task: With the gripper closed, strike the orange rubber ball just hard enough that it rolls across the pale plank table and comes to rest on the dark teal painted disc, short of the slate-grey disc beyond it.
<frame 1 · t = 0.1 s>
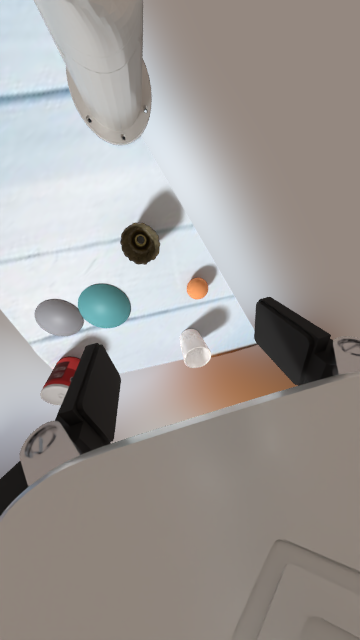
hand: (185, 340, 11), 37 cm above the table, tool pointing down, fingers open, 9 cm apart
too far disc: (60, 318, 46), on the table
canned food: (72, 364, 54), on the table
white cup: (189, 336, 58), on the table
cup: (140, 239, 40), on the table
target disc: (105, 307, 47), on the table
ball: (197, 288, 46), on the table
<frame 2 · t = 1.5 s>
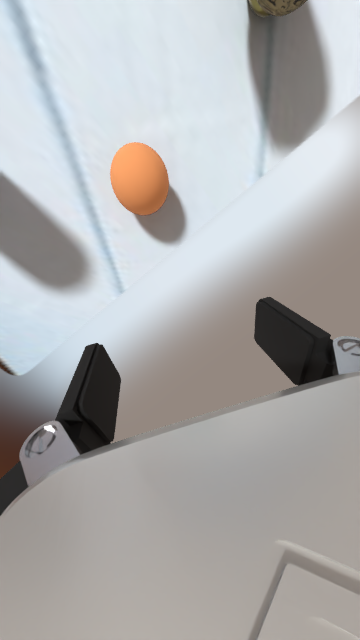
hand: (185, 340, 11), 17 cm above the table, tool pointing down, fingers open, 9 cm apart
ball: (140, 182, 17), on the table
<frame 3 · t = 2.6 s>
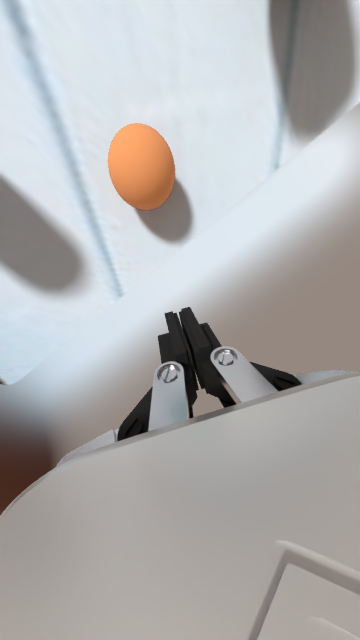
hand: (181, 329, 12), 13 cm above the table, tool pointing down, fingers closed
ball: (142, 171, 15), on the table
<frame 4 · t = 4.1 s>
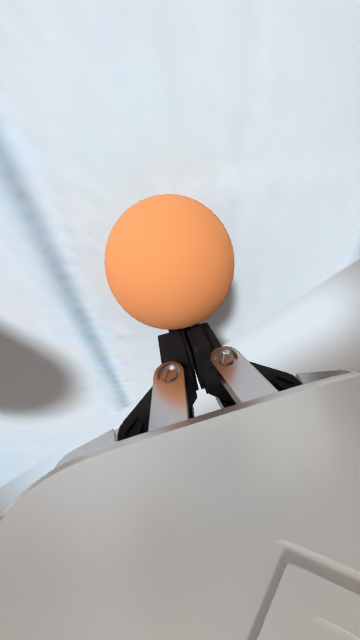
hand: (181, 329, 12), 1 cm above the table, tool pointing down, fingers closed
ball: (170, 268, 8), on the table
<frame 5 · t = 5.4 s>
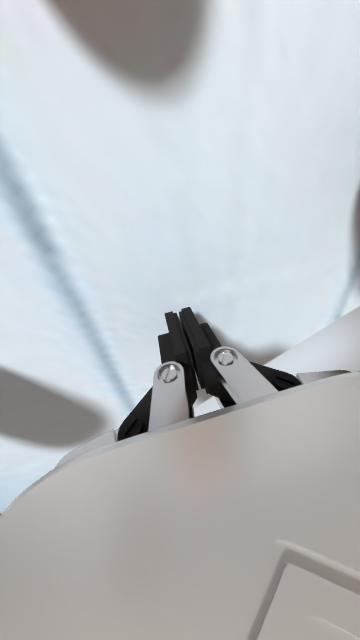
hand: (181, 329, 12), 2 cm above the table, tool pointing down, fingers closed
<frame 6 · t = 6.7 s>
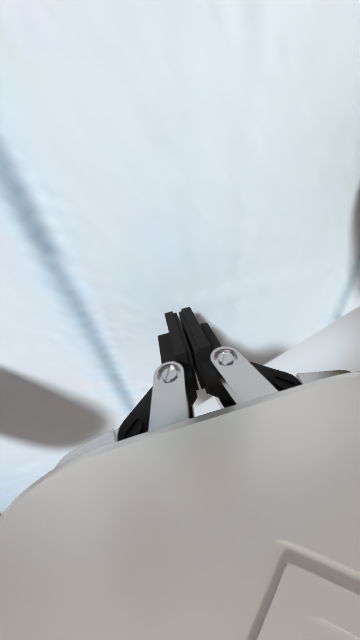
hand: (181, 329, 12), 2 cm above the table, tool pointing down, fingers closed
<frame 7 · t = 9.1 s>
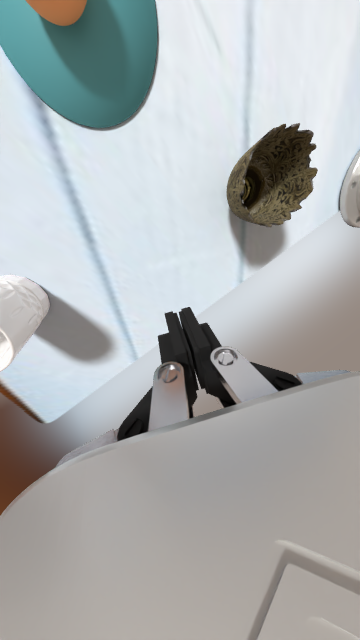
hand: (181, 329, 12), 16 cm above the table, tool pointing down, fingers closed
white cup: (21, 298, 24), on the table
cup: (237, 191, 23), on the table
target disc: (75, 11, 14), on the table
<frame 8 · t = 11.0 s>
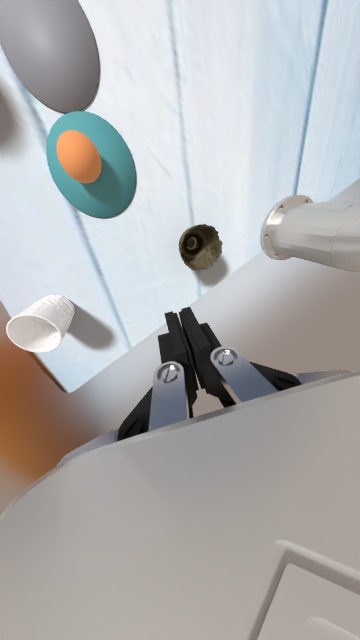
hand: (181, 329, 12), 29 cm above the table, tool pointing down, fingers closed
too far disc: (51, 47, 22), on the table
white cup: (58, 308, 38), on the table
cup: (190, 242, 37), on the table
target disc: (94, 171, 28), on the table
ball: (80, 158, 25), on the table
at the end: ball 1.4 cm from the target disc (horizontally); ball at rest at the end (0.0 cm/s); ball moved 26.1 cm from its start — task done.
